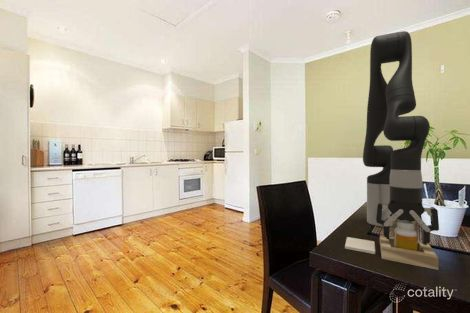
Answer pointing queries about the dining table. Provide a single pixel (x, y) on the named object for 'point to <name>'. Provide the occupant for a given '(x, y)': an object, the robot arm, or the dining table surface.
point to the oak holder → (409, 254)
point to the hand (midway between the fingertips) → (405, 241)
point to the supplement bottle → (405, 236)
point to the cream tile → (360, 245)
